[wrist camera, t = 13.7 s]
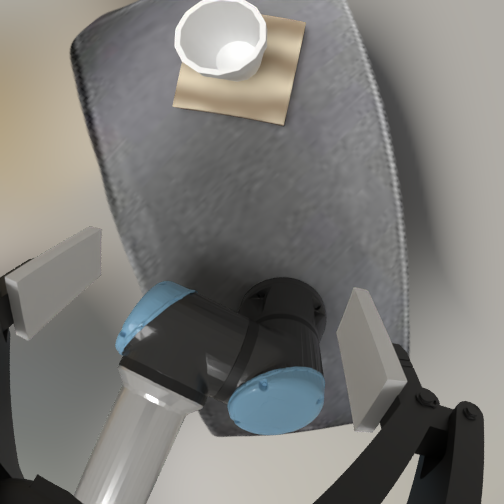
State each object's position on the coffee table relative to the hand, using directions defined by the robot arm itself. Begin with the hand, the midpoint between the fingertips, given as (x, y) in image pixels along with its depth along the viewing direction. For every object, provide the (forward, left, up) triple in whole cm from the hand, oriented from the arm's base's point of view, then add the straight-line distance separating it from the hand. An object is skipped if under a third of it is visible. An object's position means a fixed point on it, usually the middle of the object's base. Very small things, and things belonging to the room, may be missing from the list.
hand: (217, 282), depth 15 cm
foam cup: (+17, +7, -31) cm, 36 cm away
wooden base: (+17, +7, -35) cm, 39 cm away
